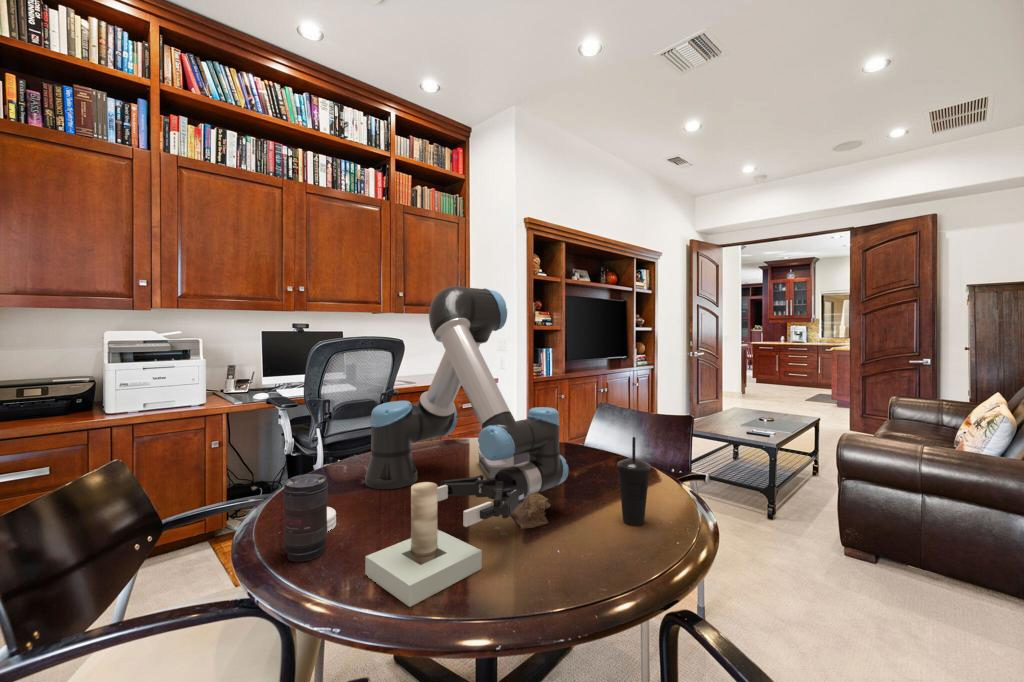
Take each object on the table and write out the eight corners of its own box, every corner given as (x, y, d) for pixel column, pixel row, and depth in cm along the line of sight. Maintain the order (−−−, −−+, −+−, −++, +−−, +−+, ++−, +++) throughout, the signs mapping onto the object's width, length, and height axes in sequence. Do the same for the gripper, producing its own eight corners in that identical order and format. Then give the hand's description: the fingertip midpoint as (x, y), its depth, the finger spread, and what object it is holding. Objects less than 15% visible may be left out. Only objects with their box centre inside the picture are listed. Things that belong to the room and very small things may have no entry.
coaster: (288, 542, 94) (288, 526, 94) (287, 525, 103) (287, 510, 103) (338, 533, 99) (338, 517, 99) (333, 517, 108) (333, 502, 108)
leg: (405, 572, 82) (405, 486, 82) (427, 562, 86) (427, 480, 86) (421, 582, 79) (421, 493, 79) (443, 571, 83) (443, 486, 82)
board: (365, 575, 81) (365, 556, 81) (435, 544, 93) (435, 528, 93) (409, 607, 72) (409, 585, 72) (481, 568, 84) (481, 550, 84)
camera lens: (282, 567, 84) (281, 488, 84) (285, 548, 91) (284, 476, 91) (328, 559, 87) (328, 483, 87) (327, 541, 94) (327, 471, 94)
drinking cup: (650, 517, 107) (651, 435, 107) (649, 530, 100) (650, 442, 100) (618, 513, 110) (618, 432, 109) (615, 525, 102) (615, 439, 102)
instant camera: (477, 461, 155) (477, 419, 154) (536, 460, 157) (536, 417, 157) (480, 481, 133) (480, 432, 133) (547, 479, 136) (547, 430, 136)
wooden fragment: (547, 531, 100) (547, 526, 100) (499, 528, 102) (499, 524, 102) (552, 492, 126) (552, 488, 126) (513, 490, 127) (513, 486, 127)
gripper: (560, 514, 92) (485, 549, 77) (479, 485, 109) (405, 510, 94) (560, 478, 92) (485, 506, 77) (479, 455, 109) (405, 475, 94)
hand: (441, 508), depth 85 cm, fingers open, 13 cm apart
